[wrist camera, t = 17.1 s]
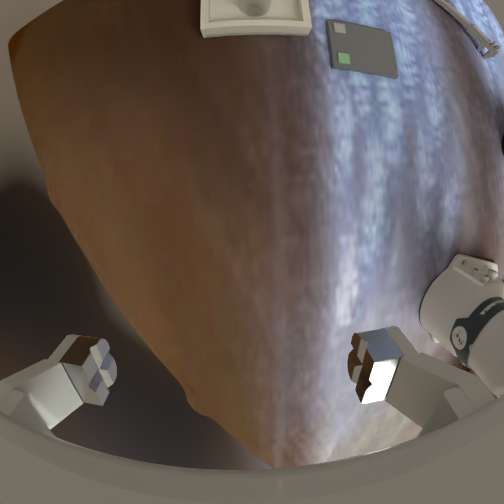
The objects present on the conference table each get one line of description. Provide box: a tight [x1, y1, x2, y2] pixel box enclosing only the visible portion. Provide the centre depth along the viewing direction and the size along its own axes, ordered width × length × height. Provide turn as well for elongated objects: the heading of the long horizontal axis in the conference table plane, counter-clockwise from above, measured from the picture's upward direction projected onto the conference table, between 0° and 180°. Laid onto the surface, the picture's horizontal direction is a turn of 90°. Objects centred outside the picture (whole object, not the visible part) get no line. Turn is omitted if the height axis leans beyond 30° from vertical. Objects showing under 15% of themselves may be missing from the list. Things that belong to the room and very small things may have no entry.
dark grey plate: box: [326, 20, 398, 79], centre depth 28 cm, size 10×8×1 cm
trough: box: [200, 0, 312, 38], centre depth 25 cm, size 14×10×3 cm
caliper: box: [434, 0, 500, 59], centre depth 21 cm, size 20×1×6 cm, turn 54°
